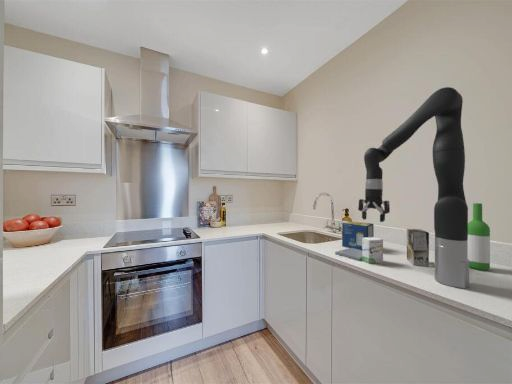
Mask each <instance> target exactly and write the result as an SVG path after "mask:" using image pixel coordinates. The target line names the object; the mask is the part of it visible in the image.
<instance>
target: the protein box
mask: <svg viewBox="0 0 512 384" xmlns="http://www.w3.org/2000/svg"><path fill="white" fill-rule="evenodd" d="M341 226H342V228H341V231H342V232H341V233H342V234H341V247H344V248H347V249H349V248H355V249H359V250H362V238H366V237H375V235H374V231H375V230H374V223H371V222H359V221H354V220H353V221H351V220H348V221H344V222H342V223H341Z"/></svg>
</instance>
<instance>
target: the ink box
mask: <svg viewBox="0 0 512 384" xmlns="http://www.w3.org/2000/svg"><path fill="white" fill-rule="evenodd" d="M361 261H362V262H364V263H367V264H379V263H380V264H381V263H384V239H383V238H380V237H377V236H374V237H366V238H362V260H361Z"/></svg>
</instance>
